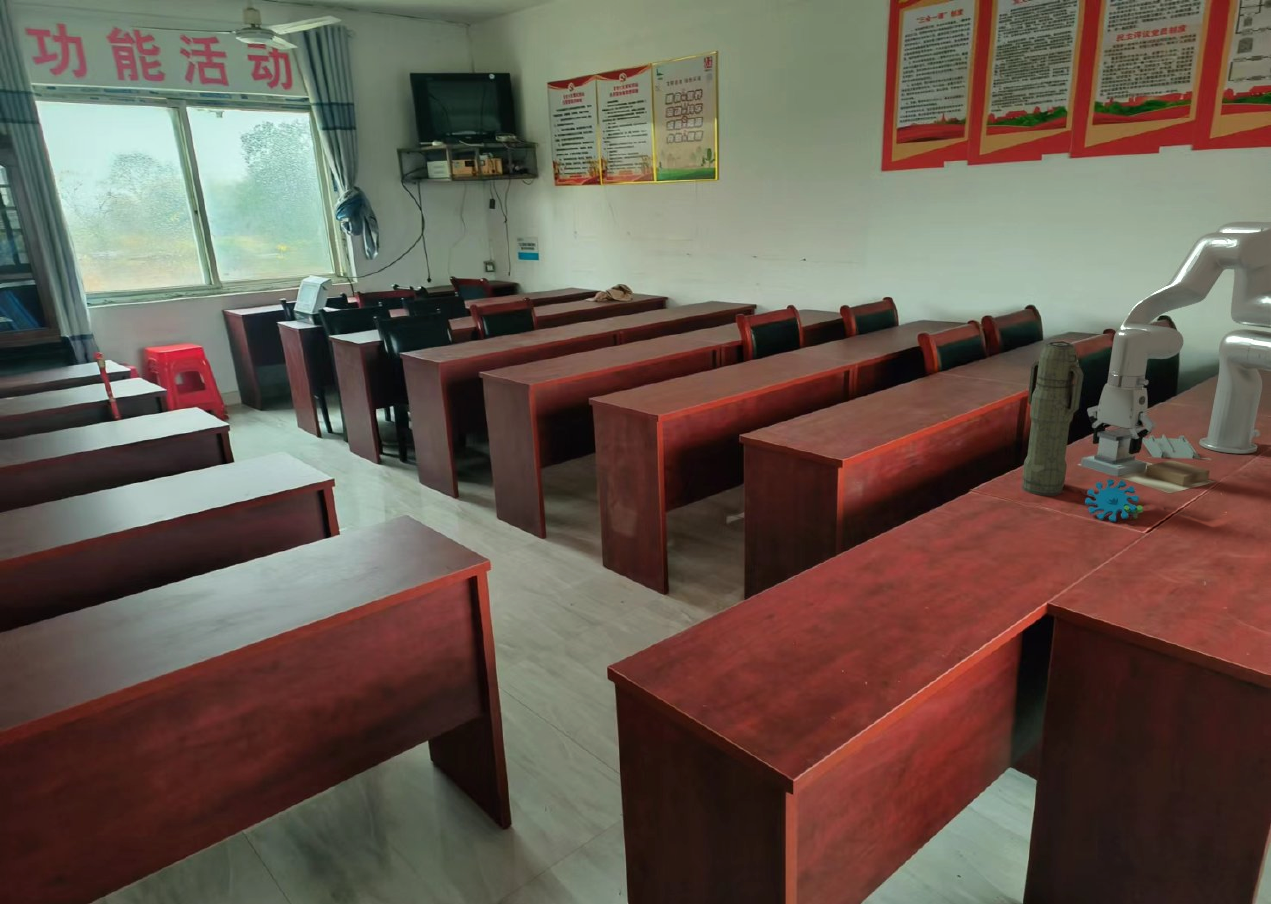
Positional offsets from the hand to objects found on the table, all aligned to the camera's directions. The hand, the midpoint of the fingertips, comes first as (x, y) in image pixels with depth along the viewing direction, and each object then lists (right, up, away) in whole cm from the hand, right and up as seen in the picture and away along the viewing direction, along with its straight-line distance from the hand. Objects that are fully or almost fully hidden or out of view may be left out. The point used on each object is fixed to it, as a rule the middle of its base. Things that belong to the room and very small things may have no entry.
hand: (1115, 448), depth 197 cm
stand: (+10, -7, -7) cm, 14 cm away
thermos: (-22, -10, -8) cm, 26 cm away
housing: (0, -3, +1) cm, 3 cm away
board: (+5, -7, -2) cm, 9 cm away
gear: (-16, -15, -25) cm, 33 cm away
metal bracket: (+21, -3, +11) cm, 24 cm away
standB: (0, -5, +2) cm, 5 cm away
